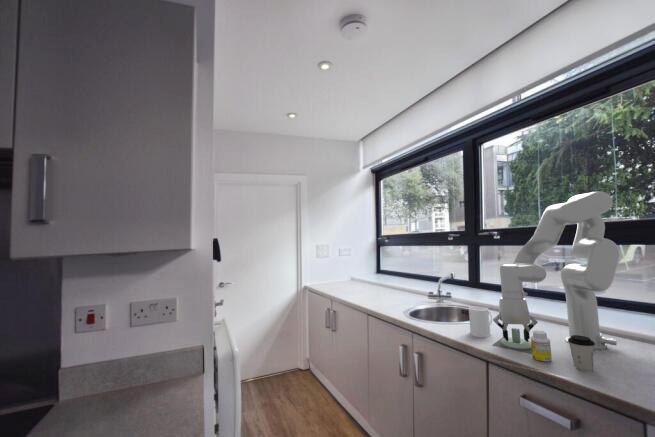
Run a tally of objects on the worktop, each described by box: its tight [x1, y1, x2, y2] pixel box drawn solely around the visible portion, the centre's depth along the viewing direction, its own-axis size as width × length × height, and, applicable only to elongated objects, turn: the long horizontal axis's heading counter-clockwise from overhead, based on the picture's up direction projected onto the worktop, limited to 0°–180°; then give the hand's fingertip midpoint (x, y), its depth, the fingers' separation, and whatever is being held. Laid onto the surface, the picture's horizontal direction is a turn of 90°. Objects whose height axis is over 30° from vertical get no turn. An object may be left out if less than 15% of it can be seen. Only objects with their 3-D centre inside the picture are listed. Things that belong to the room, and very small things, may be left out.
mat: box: [491, 336, 532, 355], centre depth 123 cm, size 14×14×1 cm
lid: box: [500, 327, 532, 350], centre depth 123 cm, size 11×11×6 cm
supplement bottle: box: [530, 330, 553, 364], centre depth 108 cm, size 6×6×10 cm
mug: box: [468, 306, 493, 338], centre depth 138 cm, size 12×8×12 cm
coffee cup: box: [568, 335, 595, 373], centre depth 101 cm, size 7×7×10 cm
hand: (516, 339), depth 123 cm, fingers open, 6 cm apart
